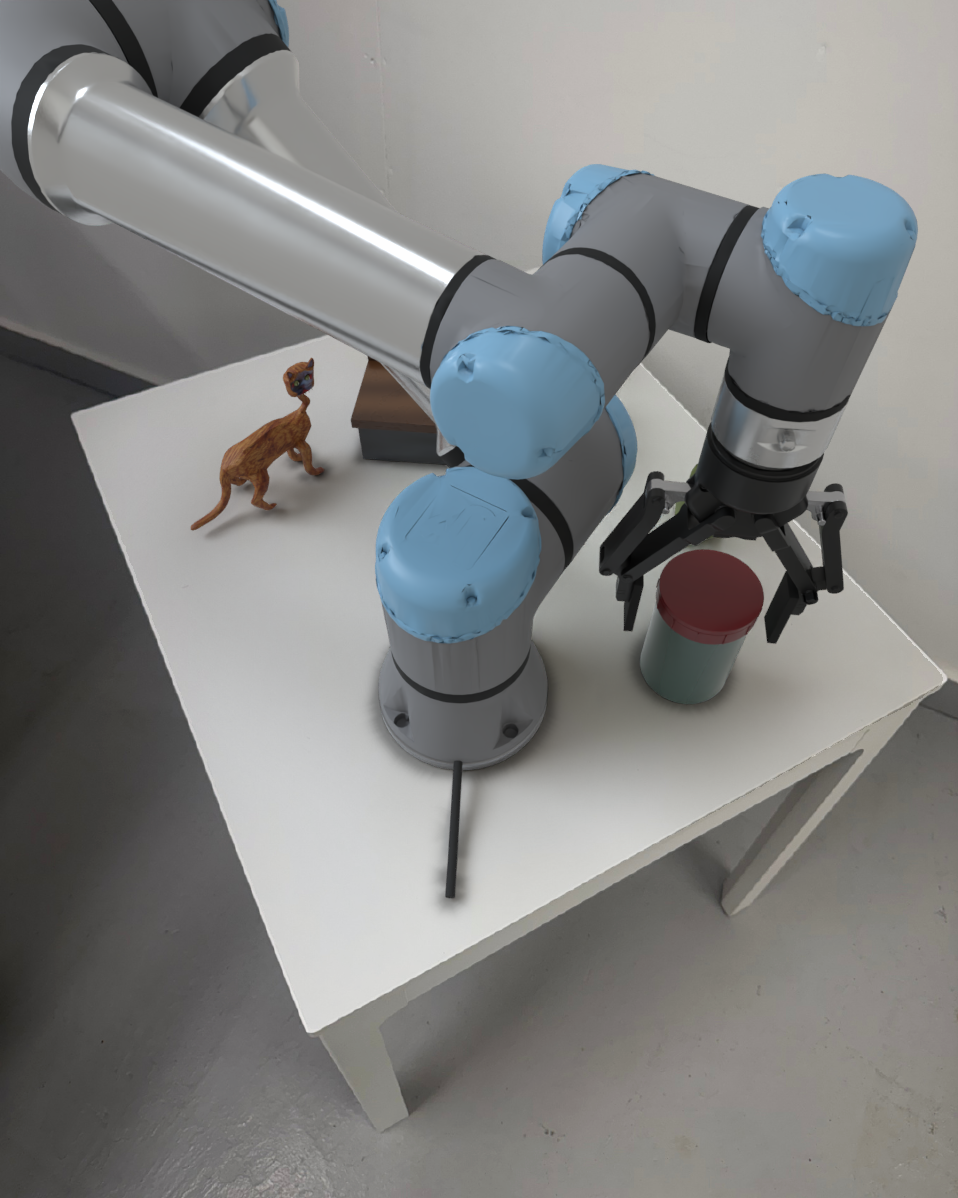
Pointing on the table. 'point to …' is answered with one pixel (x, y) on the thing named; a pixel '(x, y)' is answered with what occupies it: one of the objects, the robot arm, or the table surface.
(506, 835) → the table surface
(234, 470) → the cat figurine
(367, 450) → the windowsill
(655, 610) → the jar
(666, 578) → the lid
